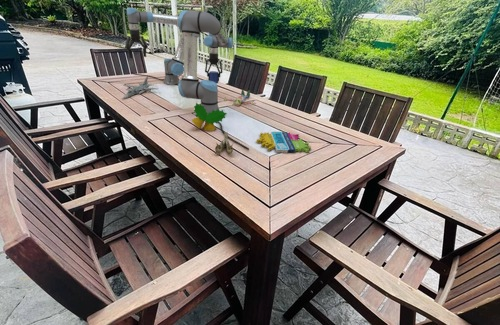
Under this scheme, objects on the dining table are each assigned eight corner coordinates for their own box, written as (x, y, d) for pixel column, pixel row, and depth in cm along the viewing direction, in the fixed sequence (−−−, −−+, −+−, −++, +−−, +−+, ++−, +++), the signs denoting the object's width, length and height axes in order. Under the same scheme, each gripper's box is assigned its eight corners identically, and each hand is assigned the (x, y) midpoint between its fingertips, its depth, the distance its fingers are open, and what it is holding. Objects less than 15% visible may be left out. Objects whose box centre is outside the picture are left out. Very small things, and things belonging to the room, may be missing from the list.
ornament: (218, 133, 171) (224, 110, 169) (221, 134, 163) (227, 111, 161) (186, 125, 162) (192, 101, 160) (189, 126, 155) (195, 101, 153)
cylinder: (217, 83, 227) (217, 73, 223) (208, 83, 227) (208, 72, 222) (218, 82, 234) (218, 71, 229) (210, 81, 233) (209, 71, 229)
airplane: (117, 88, 232) (115, 76, 227) (154, 85, 245) (152, 75, 240) (121, 101, 204) (118, 88, 199) (162, 97, 217) (161, 85, 212)
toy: (261, 91, 228) (254, 99, 202) (261, 99, 231) (253, 108, 205) (231, 87, 233) (220, 95, 207) (230, 95, 236) (219, 104, 210)
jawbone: (234, 135, 144) (233, 125, 135) (233, 160, 138) (232, 151, 129) (217, 135, 144) (216, 125, 135) (216, 160, 138) (214, 150, 129)
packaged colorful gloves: (313, 150, 142) (258, 149, 139) (312, 153, 143) (258, 152, 140) (301, 132, 164) (254, 130, 161) (301, 134, 165) (254, 133, 162)
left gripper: (122, 30, 203) (127, 59, 213) (150, 30, 221) (153, 56, 231) (117, 29, 206) (122, 57, 216) (144, 29, 224) (147, 55, 235)
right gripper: (226, 53, 222) (225, 80, 234) (201, 51, 221) (202, 79, 232) (225, 54, 216) (225, 82, 227) (200, 52, 214) (201, 81, 225)
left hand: (138, 57), depth 224 cm, fingers open, 13 cm apart
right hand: (213, 80), depth 229 cm, fingers closed on cylinder, 8 cm apart
